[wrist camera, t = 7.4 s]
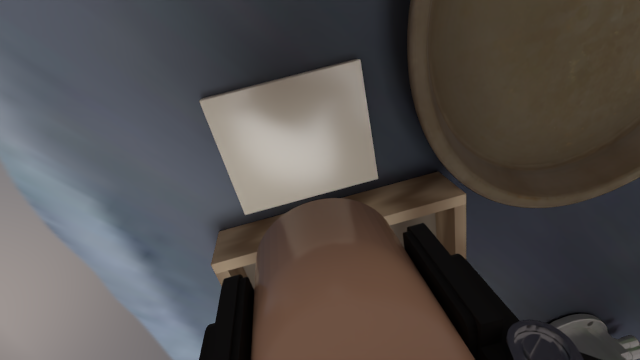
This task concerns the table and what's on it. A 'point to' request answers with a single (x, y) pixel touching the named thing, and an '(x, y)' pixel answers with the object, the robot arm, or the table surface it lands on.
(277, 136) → the sandstone tile
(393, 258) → the tan rounded knob
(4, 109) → the table surface
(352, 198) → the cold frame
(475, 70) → the plant saucer
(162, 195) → the table surface
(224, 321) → the robot arm
